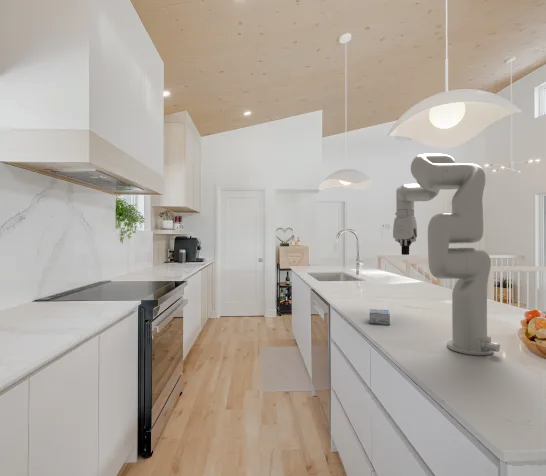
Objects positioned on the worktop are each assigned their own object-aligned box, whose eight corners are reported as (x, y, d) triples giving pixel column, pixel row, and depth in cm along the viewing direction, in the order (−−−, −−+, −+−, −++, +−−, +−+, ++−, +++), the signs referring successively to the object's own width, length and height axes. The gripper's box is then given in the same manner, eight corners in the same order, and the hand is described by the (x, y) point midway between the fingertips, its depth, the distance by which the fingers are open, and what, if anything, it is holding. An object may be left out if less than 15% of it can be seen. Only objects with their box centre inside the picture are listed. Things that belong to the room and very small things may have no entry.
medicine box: (388, 309, 148) (390, 314, 140) (389, 320, 148) (390, 325, 140) (369, 309, 150) (369, 313, 142) (369, 319, 150) (369, 324, 142)
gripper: (386, 214, 164) (386, 254, 164) (413, 213, 151) (413, 255, 151) (397, 215, 167) (397, 253, 168) (425, 213, 154) (425, 255, 155)
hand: (405, 254), depth 159 cm, fingers closed
